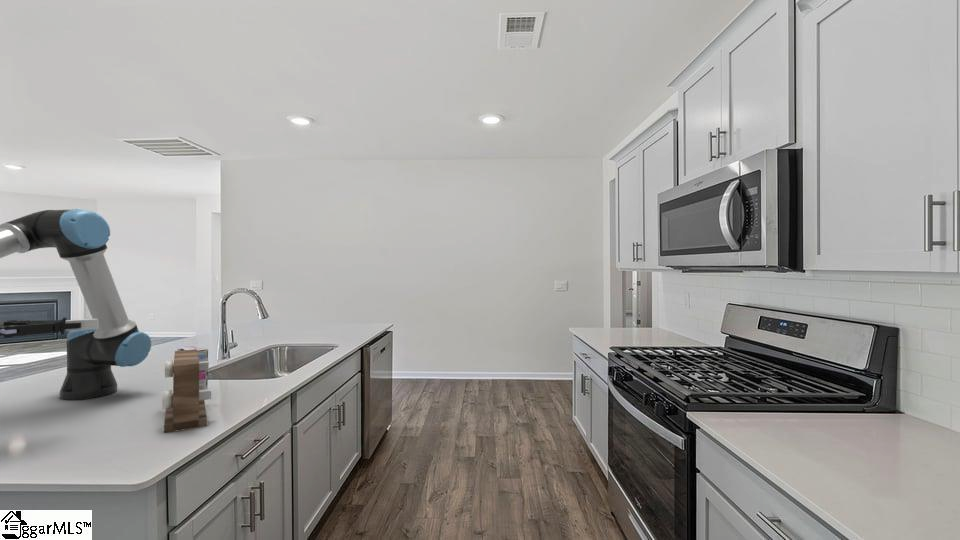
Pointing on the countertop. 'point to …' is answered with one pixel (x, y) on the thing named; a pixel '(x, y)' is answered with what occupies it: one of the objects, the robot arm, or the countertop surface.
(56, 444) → the countertop surface
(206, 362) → the upper plunger
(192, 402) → the slatted wooden stand
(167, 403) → the lower plunger
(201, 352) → the candy bar box
